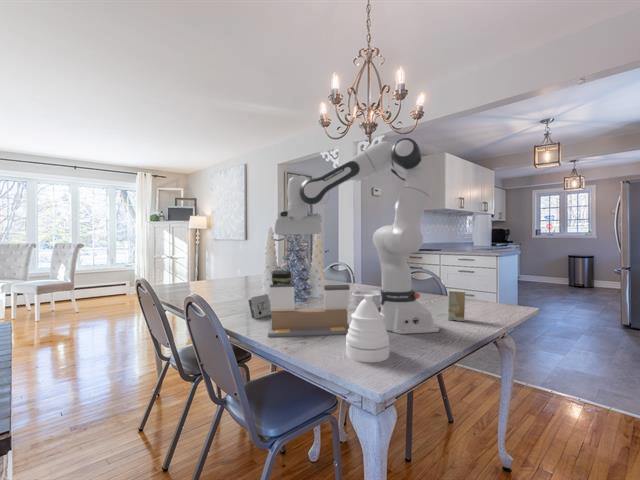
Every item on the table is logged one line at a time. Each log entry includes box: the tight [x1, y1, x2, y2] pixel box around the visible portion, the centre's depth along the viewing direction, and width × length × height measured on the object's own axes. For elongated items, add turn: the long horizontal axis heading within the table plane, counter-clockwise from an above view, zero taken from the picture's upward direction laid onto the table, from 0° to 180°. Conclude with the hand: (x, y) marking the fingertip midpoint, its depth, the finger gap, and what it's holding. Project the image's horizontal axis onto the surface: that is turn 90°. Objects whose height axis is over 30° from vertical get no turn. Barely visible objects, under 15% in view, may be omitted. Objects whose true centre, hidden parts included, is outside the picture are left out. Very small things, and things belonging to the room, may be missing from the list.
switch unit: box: [267, 307, 350, 338], centre depth 124 cm, size 30×14×7 cm, turn 96°
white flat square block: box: [323, 284, 351, 310], centre depth 123 cm, size 9×2×9 cm, turn 96°
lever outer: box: [269, 283, 296, 311], centre depth 125 cm, size 9×2×9 cm, turn 96°
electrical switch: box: [248, 294, 272, 320], centre depth 146 cm, size 9×5×9 cm, turn 141°
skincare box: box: [447, 288, 466, 322], centre depth 136 cm, size 6×4×12 cm
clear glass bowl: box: [351, 289, 381, 310], centre depth 156 cm, size 15×15×8 cm
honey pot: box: [345, 295, 390, 363], centre depth 99 cm, size 13×13×18 cm
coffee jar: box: [271, 269, 293, 285], centre depth 159 cm, size 10×8×19 cm
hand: (298, 244), depth 145 cm, fingers closed
